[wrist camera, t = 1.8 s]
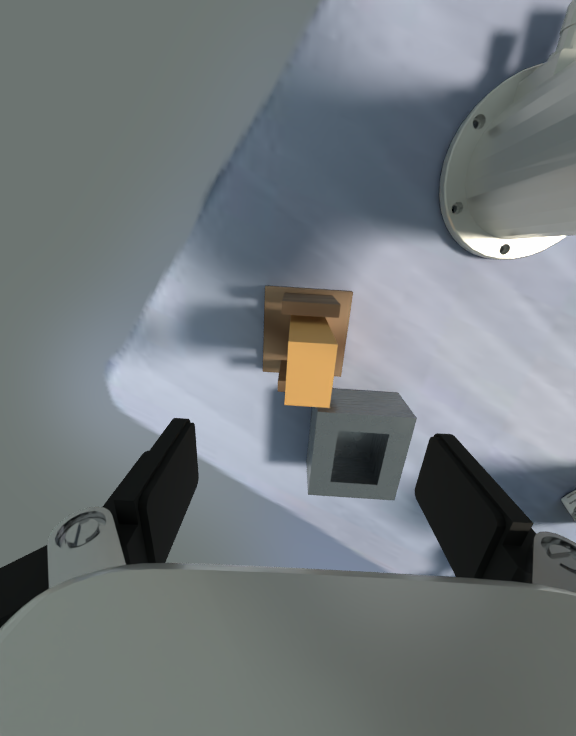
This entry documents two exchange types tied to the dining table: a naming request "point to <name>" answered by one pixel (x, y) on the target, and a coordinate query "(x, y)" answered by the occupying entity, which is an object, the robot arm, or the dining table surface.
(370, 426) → the port block
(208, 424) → the dining table surface
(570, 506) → the juice carton
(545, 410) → the dining table surface
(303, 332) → the plug
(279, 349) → the tan u-shaped piece
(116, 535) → the robot arm
